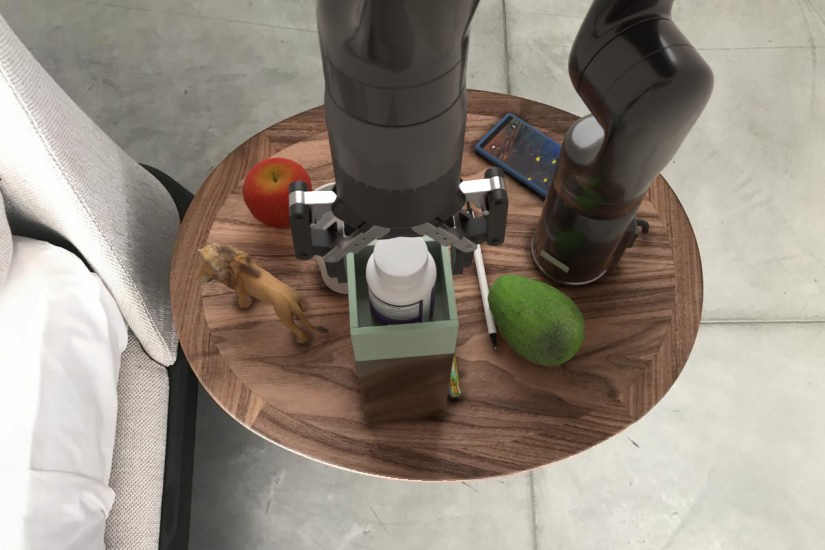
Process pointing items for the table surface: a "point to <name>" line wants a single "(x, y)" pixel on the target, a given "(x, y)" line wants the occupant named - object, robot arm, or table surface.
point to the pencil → (454, 381)
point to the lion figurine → (253, 285)
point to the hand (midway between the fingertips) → (399, 268)
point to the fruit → (536, 319)
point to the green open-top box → (403, 346)
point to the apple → (272, 190)
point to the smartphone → (521, 152)
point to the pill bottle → (401, 281)
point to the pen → (484, 288)
